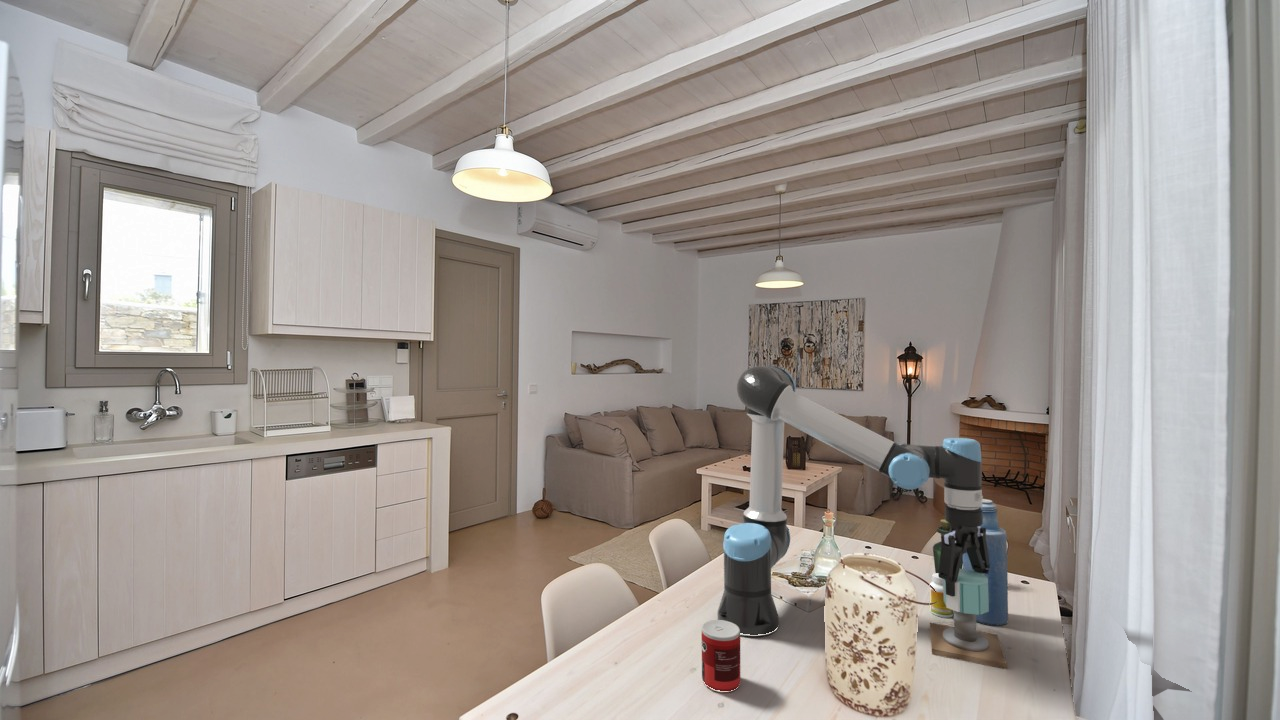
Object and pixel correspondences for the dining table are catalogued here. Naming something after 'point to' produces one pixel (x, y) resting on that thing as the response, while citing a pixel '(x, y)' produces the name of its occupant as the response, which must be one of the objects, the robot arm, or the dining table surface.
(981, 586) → the cap
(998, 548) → the bottle
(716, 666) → the canned food
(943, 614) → the supplement bottle
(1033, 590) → the dining table surface
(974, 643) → the stud post
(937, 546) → the potion bottle
